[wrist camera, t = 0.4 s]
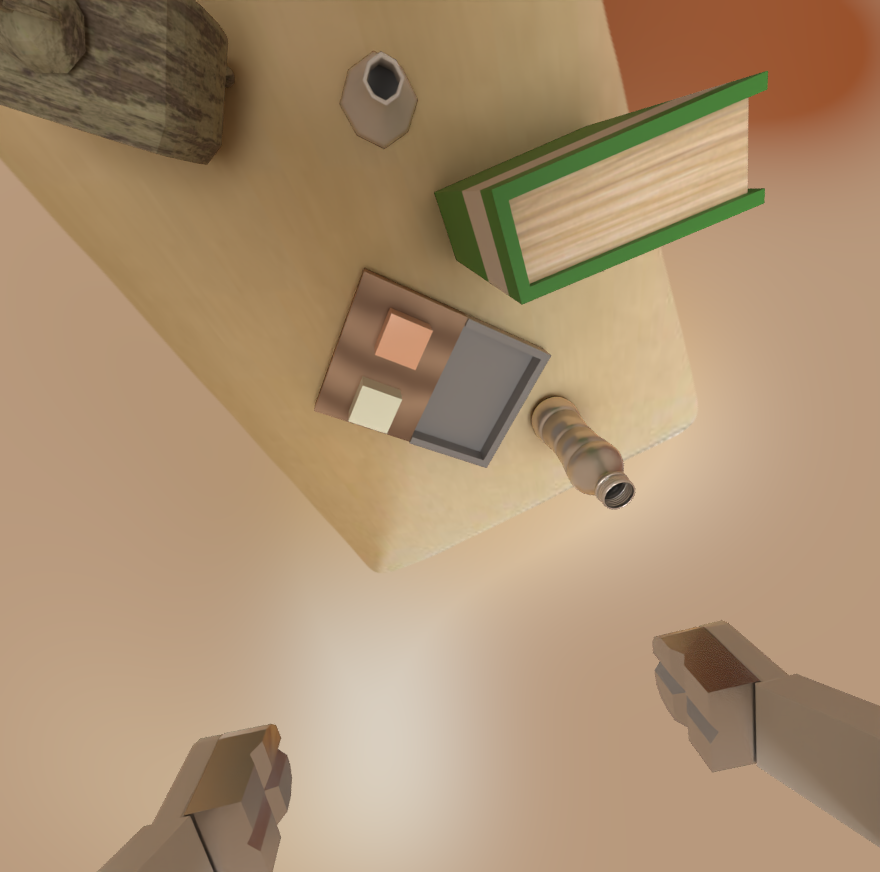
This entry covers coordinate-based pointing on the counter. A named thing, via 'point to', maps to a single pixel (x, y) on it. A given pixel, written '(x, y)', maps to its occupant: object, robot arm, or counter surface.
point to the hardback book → (605, 192)
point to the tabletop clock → (119, 70)
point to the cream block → (374, 405)
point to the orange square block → (402, 339)
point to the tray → (479, 393)
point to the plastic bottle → (583, 453)
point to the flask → (378, 99)
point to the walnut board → (360, 359)
